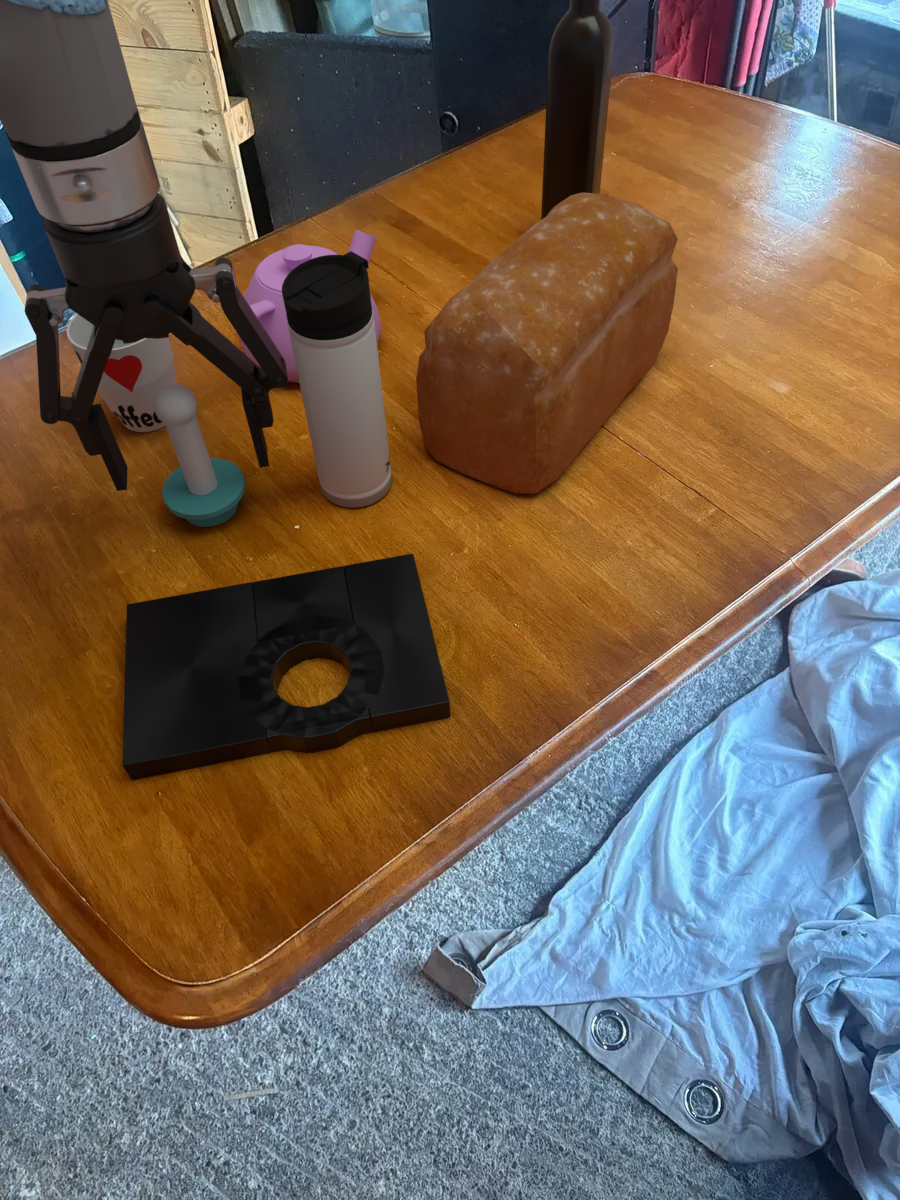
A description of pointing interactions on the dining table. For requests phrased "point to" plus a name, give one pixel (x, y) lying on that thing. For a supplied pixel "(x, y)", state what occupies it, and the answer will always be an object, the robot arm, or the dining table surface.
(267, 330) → the teapot
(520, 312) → the bread
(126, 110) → the robot arm
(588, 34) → the wine bottle
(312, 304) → the travel mug
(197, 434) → the stopper
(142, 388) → the cup
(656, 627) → the dining table surface
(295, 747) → the plate
